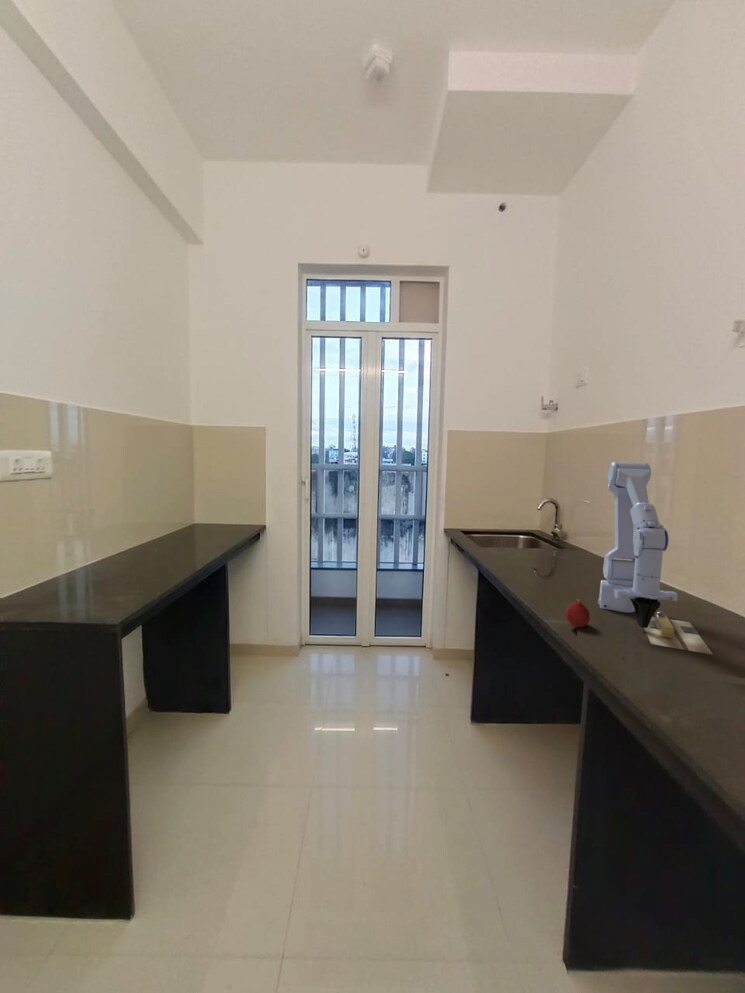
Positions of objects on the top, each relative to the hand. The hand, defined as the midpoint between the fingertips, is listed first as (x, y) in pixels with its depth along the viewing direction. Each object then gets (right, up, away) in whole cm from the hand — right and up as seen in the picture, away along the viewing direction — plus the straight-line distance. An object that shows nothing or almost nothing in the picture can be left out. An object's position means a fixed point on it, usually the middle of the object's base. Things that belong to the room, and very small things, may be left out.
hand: (642, 626), depth 111 cm
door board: (+7, -3, 0) cm, 8 cm away
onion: (-15, -2, +4) cm, 16 cm away
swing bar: (+5, -1, 0) cm, 5 cm away
